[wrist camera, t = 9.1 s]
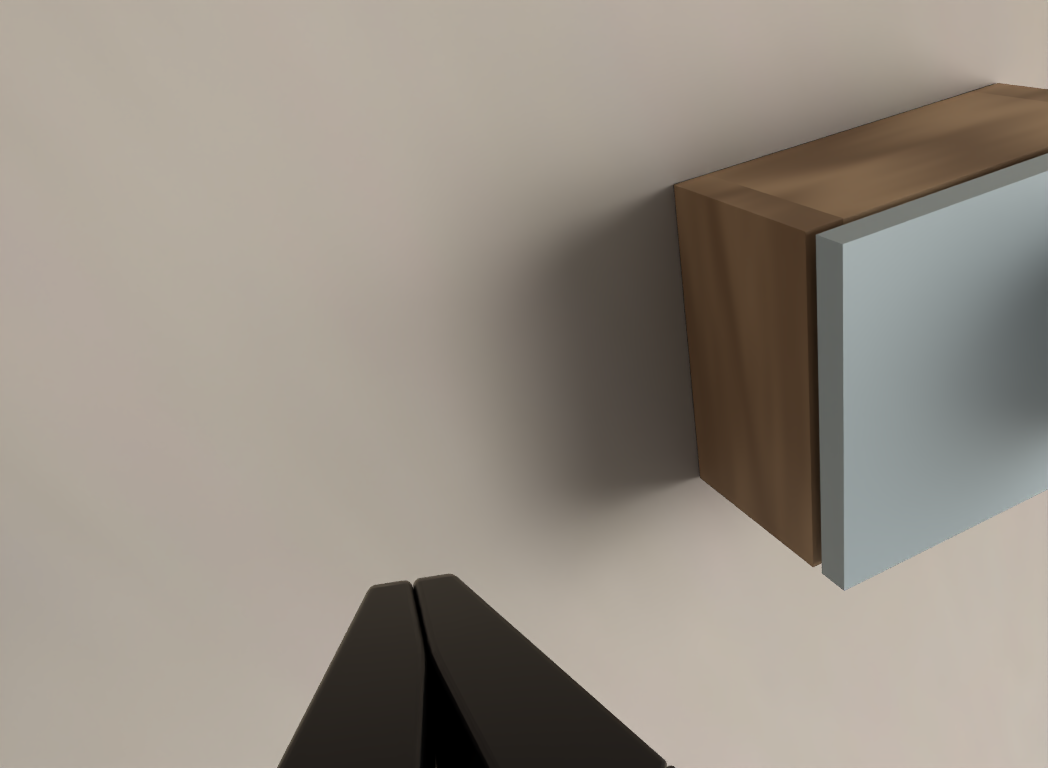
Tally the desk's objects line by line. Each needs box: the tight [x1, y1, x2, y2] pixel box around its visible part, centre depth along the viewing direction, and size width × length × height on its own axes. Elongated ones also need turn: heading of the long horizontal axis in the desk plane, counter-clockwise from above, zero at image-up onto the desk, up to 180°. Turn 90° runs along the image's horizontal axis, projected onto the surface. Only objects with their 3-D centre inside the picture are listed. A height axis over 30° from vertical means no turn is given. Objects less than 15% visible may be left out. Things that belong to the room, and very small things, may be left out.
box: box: [674, 83, 1048, 567], centre depth 26 cm, size 11×9×5 cm
